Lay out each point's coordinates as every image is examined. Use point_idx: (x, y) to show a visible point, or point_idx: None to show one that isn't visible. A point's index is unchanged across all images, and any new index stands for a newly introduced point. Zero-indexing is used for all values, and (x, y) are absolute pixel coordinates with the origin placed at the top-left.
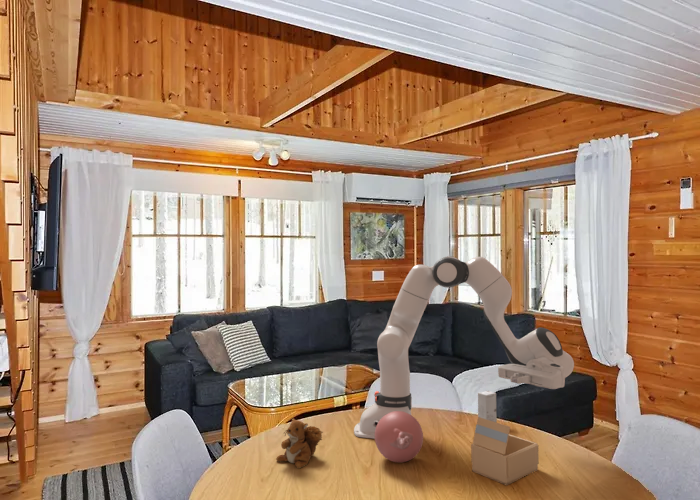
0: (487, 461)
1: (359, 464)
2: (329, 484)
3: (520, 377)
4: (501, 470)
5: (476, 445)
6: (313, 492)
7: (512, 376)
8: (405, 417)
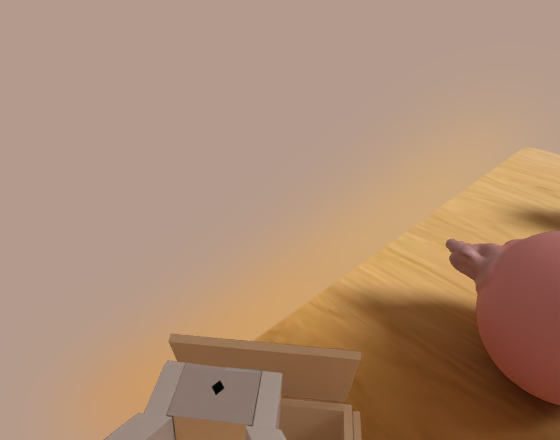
0: None
1: None
2: (474, 225)
3: (157, 392)
4: None
5: (333, 409)
6: (456, 202)
7: (266, 381)
8: (556, 249)
